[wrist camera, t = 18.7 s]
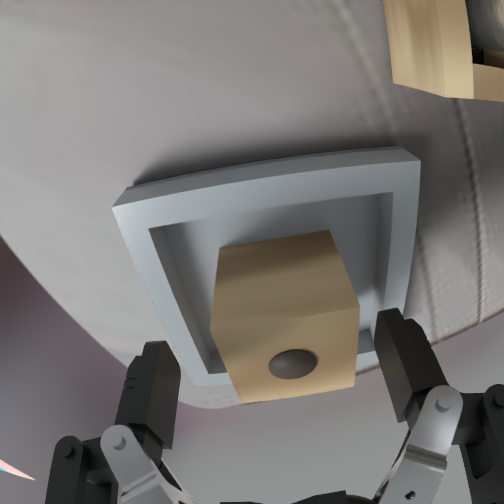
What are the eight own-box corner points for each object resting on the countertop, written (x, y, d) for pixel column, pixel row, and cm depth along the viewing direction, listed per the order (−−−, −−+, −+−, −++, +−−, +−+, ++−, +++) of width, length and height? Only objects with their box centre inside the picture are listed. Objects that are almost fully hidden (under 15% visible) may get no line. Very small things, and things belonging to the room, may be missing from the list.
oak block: (370, -55, 7) (413, -86, 4) (487, -28, 7) (542, -33, 4) (393, 83, 11) (445, 97, 7) (501, 90, 10) (558, 111, 7)
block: (219, 248, 15) (209, 332, 10) (329, 229, 14) (361, 308, 10) (242, 323, 17) (241, 404, 13) (333, 309, 17) (354, 387, 13)
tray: (127, 187, 13) (111, 207, 12) (400, 145, 12) (421, 160, 11) (197, 360, 20) (194, 386, 18) (383, 334, 19) (392, 358, 17)
